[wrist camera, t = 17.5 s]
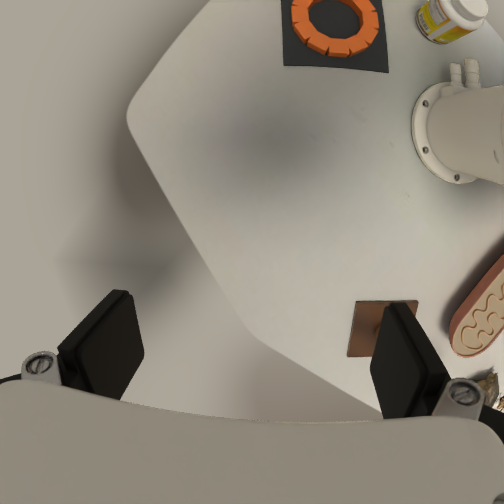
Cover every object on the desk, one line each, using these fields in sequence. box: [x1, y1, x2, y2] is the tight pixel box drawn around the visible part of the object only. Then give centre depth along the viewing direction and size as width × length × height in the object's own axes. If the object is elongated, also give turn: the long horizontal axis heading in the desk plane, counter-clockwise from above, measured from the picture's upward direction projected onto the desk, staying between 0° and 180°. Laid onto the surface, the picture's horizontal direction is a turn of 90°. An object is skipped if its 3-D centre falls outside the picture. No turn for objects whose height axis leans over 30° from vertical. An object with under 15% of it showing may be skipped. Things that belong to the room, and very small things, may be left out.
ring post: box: [347, 301, 418, 357], centre depth 37 cm, size 9×9×6 cm
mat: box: [281, 0, 389, 73], centre depth 27 cm, size 12×12×1 cm
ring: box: [291, 0, 379, 57], centre depth 26 cm, size 10×10×2 cm
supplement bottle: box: [417, 0, 488, 44], centre depth 20 cm, size 6×6×10 cm
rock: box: [474, 373, 499, 408], centre depth 40 cm, size 9×9×6 cm
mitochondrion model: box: [449, 254, 504, 358], centre depth 33 cm, size 23×10×5 cm, turn 141°
